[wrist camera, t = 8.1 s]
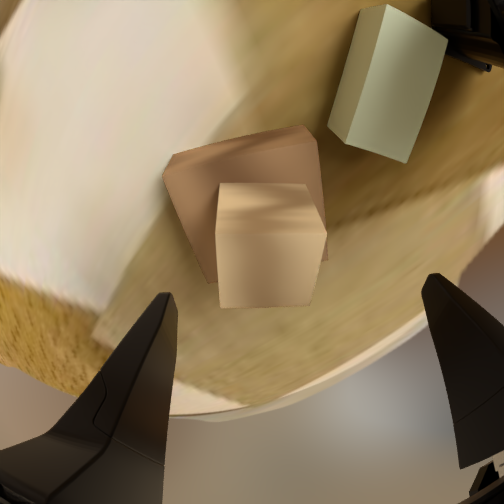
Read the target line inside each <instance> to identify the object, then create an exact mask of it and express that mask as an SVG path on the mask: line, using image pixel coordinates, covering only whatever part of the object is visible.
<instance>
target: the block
mask: <svg viewBox="0 0 504 504" xmlns="http://www.w3.org/2000/svg"><path fill="white" fill-rule="evenodd" d="M447 43H448V39H446V38H445V37H443V36H442V35H440V34H439V33H437V32H436V31H434V30H433V29H431V28H429V27H428V26H426V25H425V24H423V23H421V22H419V21H418V20H416V19H414V18H413V17H411V16H409V15H407V14H405V13H403V12H402V11H400V10H398V9H396V8H394V7H392V6H390V5H388V4H385V5H379V6H374V7H369V8H365V9H360V13H359V17H358V21H357V24H356V28H355V32H354V35H353V39H352V42H351V46H350V49H349V53H348V57H347V60H346V63H345V67H344V70H343V74H342V77H341V81H340V84H339V87H338V91H337V94H336V97H335V101H334V104H333V107H332V110H331V114H330V117H329V120H328V123H327V127H328V128H329V129H330V130H332V131H333V132H334V133H335V134H336V135H337V136H338V137H339V138H340V139H341V140H342V141H343V142H344V143H345V144H348V145H352V146H355V147H358V148H361V149H365V150H368V151H371V152H374V153H377V154H380V155H383V156H386V157H389V158H392V159H395V160H397V161H400V162H403V163H407V161H408V158H409V156H410V153H411V151H412V148H413V146H414V143H415V141H416V138H417V136H418V133H419V130H420V128H421V125H422V122H423V120H424V117H425V114H426V111H427V109H428V106H429V103H430V100H431V97H432V94H433V91H434V88H435V85H436V81H437V78H438V75H439V72H440V68H441V65H442V61H443V58H444V54H445V51H446V47H447Z"/></svg>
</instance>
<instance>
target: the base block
mask: <svg viewBox="0 0 504 504" xmlns="http://www.w3.org/2000/svg"><path fill="white" fill-rule="evenodd" d="M162 178H163V180H164V183H165V185H166V188H167V190H168V193H169V195H170V198H171V200H172V203H173V205H174V207H175V210H176V212H177V215H178V217H179V219H180V222H181V224H182V226H183V229H184V231H185V233H186V236H187V238H188V240H189V243H190V245H191V247H192V249H193V252H194V254H195V256H196V258H197V261H198V263H199V265H200V267H201V270H202V272H203V274H204V276H205V278H206V281H207V283H214V282H218V271H217V256H216V239H215V230H216V219H217V208H218V197H219V187H220V183H290V184H306V186H307V189H308V191H309V193H310V195H311V197H312V200H313V202H314V204H315V206H316V209H317V211H318V213H319V216H320V218H321V220H322V223H323V225H324V227H325V230H326V222H325V210H324V199H323V189H322V180H321V171H320V162H319V154H318V146H317V141H316V139H315V138H314V137H313V136H312V135H311V133H310V132H309V131H308V130H307V128H306V127H305V126H304V125H298V126H292V127H287V128H281V129H276V130H271V131H266V132H261V133H256V134H251V135H247V136H242V137H238V138H234V139H229V140H225V141H221V142H217V143H213V144H209V145H205V146H202V147H198V148H194V149H191V150H187V151H184V152H180V153H177V154H173V156H172V158H171V160H170V162H169V164H168V166H167V168H166V169H165V171H164V173H163V175H162ZM327 260H328V250H327V237H326V241H325V246H324V250H323V254H322V259H321V262H322V261H327Z"/></svg>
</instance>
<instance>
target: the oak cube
mask: <svg viewBox="0 0 504 504" xmlns="http://www.w3.org/2000/svg"><path fill="white" fill-rule="evenodd" d="M326 237H327V232H326V230H325V227H324V225H323V223H322V220H321V218H320V216H319V213H318V211H317V209H316V206H315V204H314V202H313V200H312V197H311V195H310V193H309V191H308V189H307V186H306V184H290V183H220V187H219V197H218V208H217V219H216V230H215V239H216V256H217V271H218V285H219V299H220V308H261V307H293V306H310V303H311V299H312V295H313V291H314V287H315V283H316V279H317V275H318V271H319V267H320V263H321V259H322V254H323V250H324V246H325V241H326Z"/></svg>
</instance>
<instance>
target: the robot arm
mask: <svg viewBox="0 0 504 504" xmlns="http://www.w3.org/2000/svg"><path fill="white" fill-rule="evenodd" d="M431 22H432V29H433V30H434V31H436V32H437V33H439V34H440V35H442V36H443V37H445V38H446V39H448V43H447V47H446V51H445V55H448V56H450V57H453V58H456V59H458V60H461V61H463V62H465V63H468V64H470V65H472V66H475V67H477V68H479V69H481V70H483V71H486V72H490V71H491V68H492V65H494V66H498V67H501V68H504V0H431ZM486 65H487V67H486ZM421 295H422V299H423V303H424V307H425V311H426V315H427V320H428V324H429V328H430V332H431V336H432V339H433V342H434V345H435V349H436V352H437V356H438V359H439V362H440V366H441V370H442V374H443V378H444V382H445V386H446V391H447V394H448V399H449V404H450V409H451V414H452V419H453V424H454V425H453V426H454V431H455V438H456V445H457V452H458V460H459V467H460V469H463V468H465V467H468V466H470V465H473V464H475V463H478V462H480V461H482V460H485V459H487V458H489V457H491V456H492V458H493V460H492V461H490V462H489V463H487V464H486V465H484V466H482V467H481V468H480V469H479V471H478V474H477V476H476V478H475V480H474V483H473V485H472V487H471V489H470V491H469V495H470V497H469V498H467V499H465V500H464V501H462V502H460V503H458V504H504V326H503V325H502V324H501V323H500V322H499V321H498V320H497V319H495V318H494V317H493V316H492V315H491V314H490V313H488V312H487V311H486V310H485V309H484V308H482V307H481V306H480V305H479V304H478V303H477V302H475V301H474V300H473V299H472V298H470V297H469V296H468V295H467V294H466V293H464V292H463V291H462V290H460V289H459V288H458V287H457V286H455V285H454V284H453V283H452V282H450V281H449V280H448V279H446V278H445V277H444V276H442V275H441V274H440V273H433V274H429V275H428V277H427V279H426V281H425V284H424V286H423V288H422V291H421ZM177 322H178V311H177V307H176V304H175V301H174V298H173V295H172V294H171V293H170V292H161V293H159V294H157V296H156V297H155V298H154V299H153V301H152V302H151V303H150V304H149V306H148V307H147V308H146V310H145V311H144V312H143V313H142V315H141V316H140V317H139V319H138V320H137V321H136V322H135V324H134V325H133V326H132V328H131V329H130V330H129V331H128V333H127V334H126V335H125V337H124V338H123V339H122V341H121V342H120V343H119V345H118V346H117V347H116V349H115V350H114V351H113V353H112V354H111V355H110V357H109V358H108V359H107V361H106V362H105V363H104V365H103V366H102V368H101V369H100V371H99V372H98V373H97V374H96V376H95V377H94V378H93V380H92V381H91V382H90V384H89V385H88V386H87V388H86V389H85V390H84V392H83V393H82V394H81V395H80V396H79V397H78V399H77V400H76V401H75V402H74V403H73V404H72V406H71V407H70V408H69V409H68V410H67V411H66V413H65V414H64V415H63V416H62V417H61V418H60V419H59V421H58V422H57V423H56V424H55V425H54V426H53V427H52V428H51V429H50V430H49V431H47V432H46V433H44V434H42V435H40V436H38V437H36V438H33V439H30V440H28V441H25V442H23V443H20V444H17V445H14V446H12V447H9V448H6V449H3V450H0V504H162V496H163V479H164V464H165V452H166V441H167V430H168V421H169V411H170V403H171V394H172V386H173V378H174V371H175V364H176V354H177Z"/></svg>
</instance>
